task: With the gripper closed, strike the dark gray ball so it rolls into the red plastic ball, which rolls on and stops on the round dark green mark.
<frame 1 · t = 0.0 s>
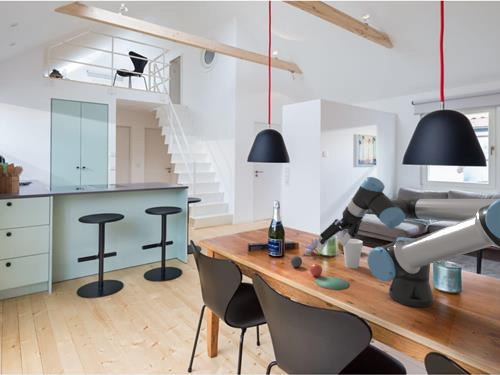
hand: (330, 246, 135), 15 cm above the table, tool tilted 35°, fingers open, 13 cm apart
green mark: (332, 283, 133), on the table
water lily: (311, 254, 176), on the table
potato: (348, 252, 180), on the table
red ball: (316, 269, 141), on the table
dark gray ball: (296, 261, 153), on the table
foam cup: (351, 266, 155), on the table
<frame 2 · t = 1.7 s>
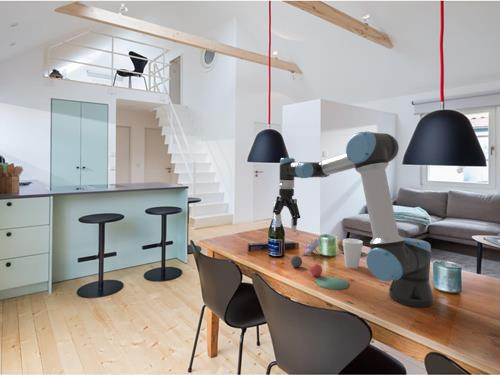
hand: (285, 229, 160), 17 cm above the table, tool pointing down, fingers open, 12 cm apart
nothing on the table moved.
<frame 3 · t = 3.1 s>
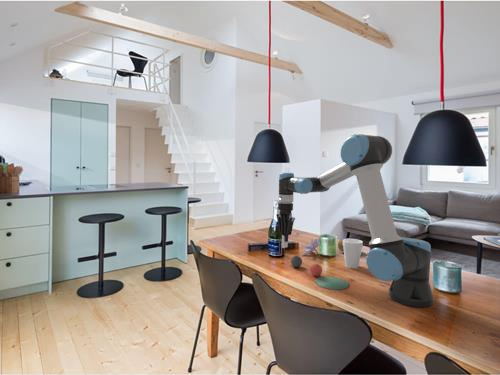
hand: (284, 247, 161), 8 cm above the table, tool pointing down, fingers closed
nothing on the table moved.
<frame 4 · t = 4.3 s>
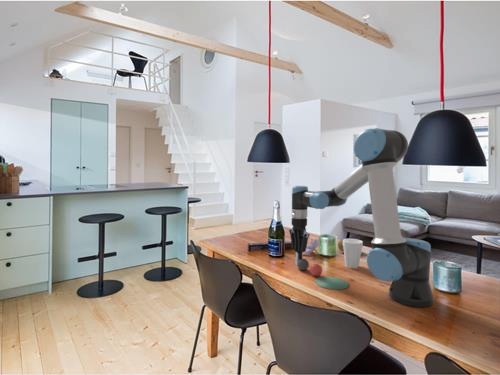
hand: (298, 264, 152), 2 cm above the table, tool pointing down, fingers closed
dark gray ball: (303, 264, 149), on the table
everything else where it was.
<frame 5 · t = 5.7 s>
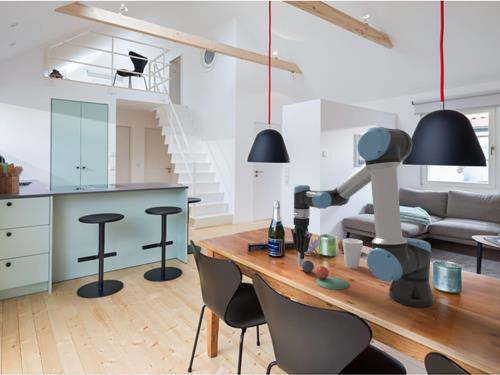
hand: (300, 264, 151), 2 cm above the table, tool pointing down, fingers closed
red ball: (322, 272, 138), on the table
dark gray ball: (308, 266, 146), on the table
everything else where it was.
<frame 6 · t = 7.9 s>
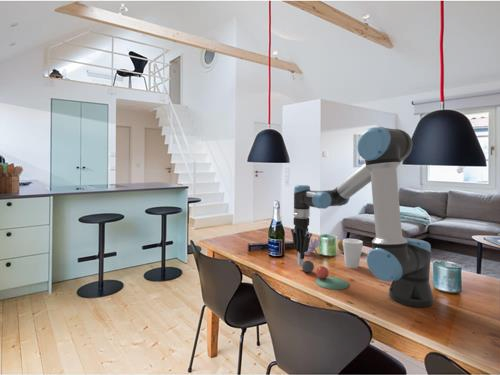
hand: (300, 264, 151), 2 cm above the table, tool pointing down, fingers closed
nothing on the table moved.
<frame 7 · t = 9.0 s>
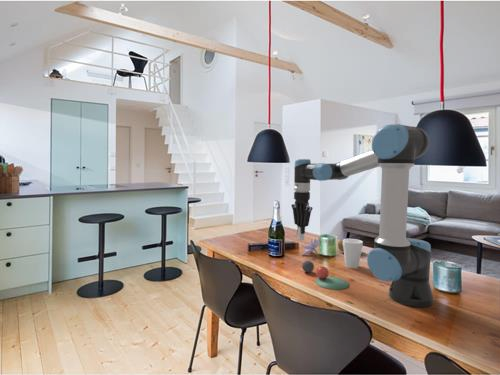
hand: (300, 239, 150), 14 cm above the table, tool pointing down, fingers closed
nothing on the table moved.
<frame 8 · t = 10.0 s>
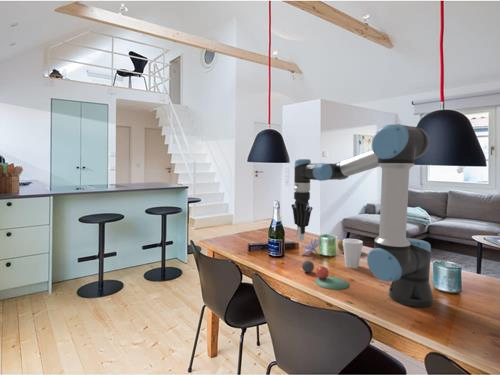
hand: (300, 239, 150), 14 cm above the table, tool pointing down, fingers closed
nothing on the table moved.
at the end: red ball 5.9 cm from the green mark (horizontally); red ball never touched the robot; dark gray ball first touched red ball at 4.5 s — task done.
